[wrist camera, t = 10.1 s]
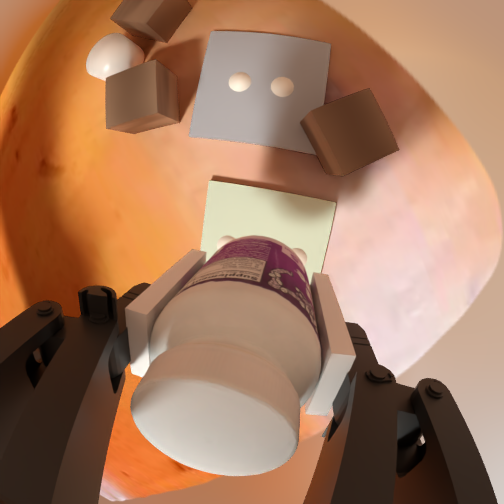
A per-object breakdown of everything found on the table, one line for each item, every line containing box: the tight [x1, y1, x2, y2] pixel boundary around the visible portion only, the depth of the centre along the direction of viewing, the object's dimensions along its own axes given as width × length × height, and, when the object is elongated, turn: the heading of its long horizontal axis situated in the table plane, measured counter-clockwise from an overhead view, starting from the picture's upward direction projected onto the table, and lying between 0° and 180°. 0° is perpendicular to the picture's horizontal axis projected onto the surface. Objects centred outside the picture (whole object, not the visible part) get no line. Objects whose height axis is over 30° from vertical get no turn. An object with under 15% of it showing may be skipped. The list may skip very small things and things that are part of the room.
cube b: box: [110, 0, 192, 43], centre depth 14 cm, size 4×4×4 cm
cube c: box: [300, 88, 399, 176], centre depth 15 cm, size 4×4×4 cm
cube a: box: [106, 59, 180, 134], centre depth 16 cm, size 4×4×4 cm
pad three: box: [200, 180, 336, 284], centre depth 20 cm, size 9×9×1 cm
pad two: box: [189, 31, 331, 155], centre depth 17 cm, size 9×9×1 cm
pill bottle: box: [130, 235, 321, 476], centre depth 10 cm, size 5×5×10 cm
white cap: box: [86, 33, 144, 81], centre depth 16 cm, size 4×4×3 cm
